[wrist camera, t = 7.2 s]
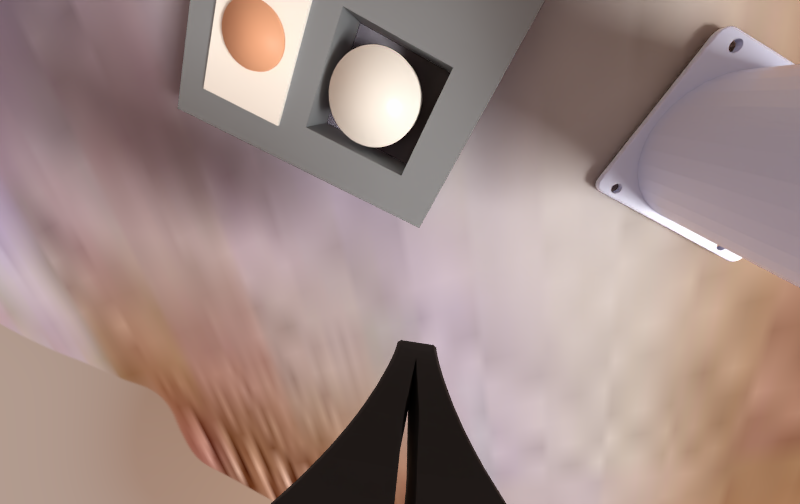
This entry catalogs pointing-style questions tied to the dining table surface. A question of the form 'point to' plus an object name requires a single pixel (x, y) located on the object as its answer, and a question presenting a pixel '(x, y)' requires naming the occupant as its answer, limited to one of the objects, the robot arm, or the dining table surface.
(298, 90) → the button board
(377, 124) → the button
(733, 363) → the dining table surface
